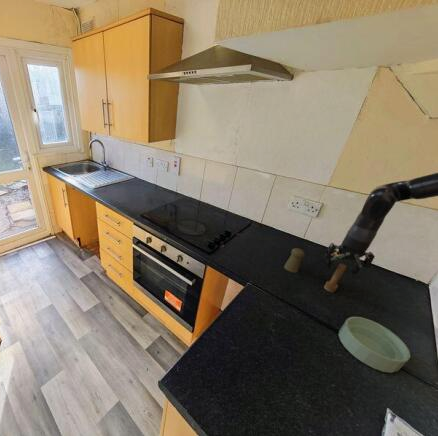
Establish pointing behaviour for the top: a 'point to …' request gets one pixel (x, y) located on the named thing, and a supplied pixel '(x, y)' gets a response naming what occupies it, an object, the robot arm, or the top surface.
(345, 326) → the bowl
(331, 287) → the muddler
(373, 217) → the robot arm
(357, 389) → the top surface
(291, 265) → the cork
